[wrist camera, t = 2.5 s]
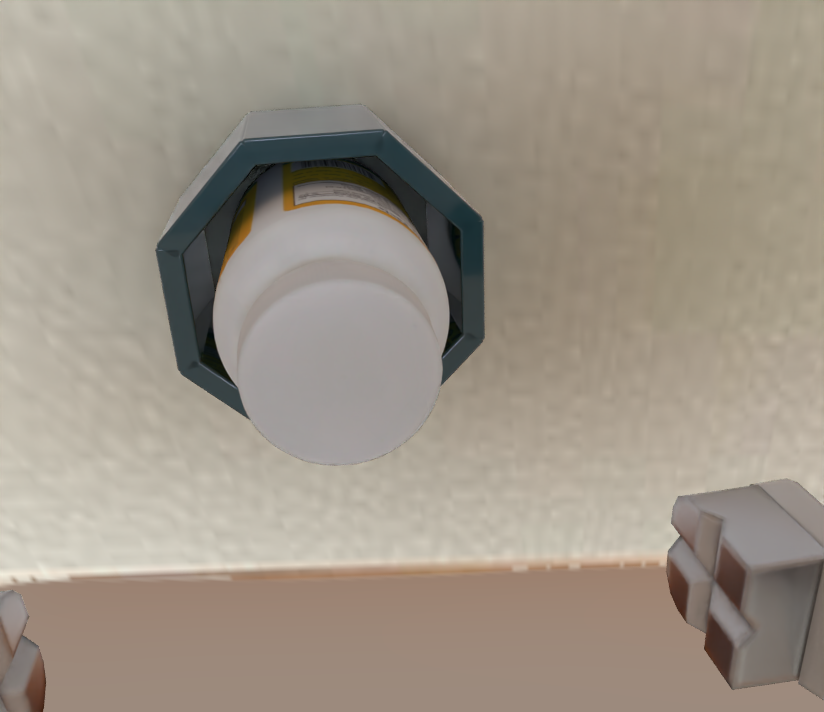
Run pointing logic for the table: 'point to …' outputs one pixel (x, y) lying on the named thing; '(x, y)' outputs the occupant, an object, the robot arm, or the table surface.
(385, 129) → the holder
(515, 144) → the table surface
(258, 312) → the supplement bottle
